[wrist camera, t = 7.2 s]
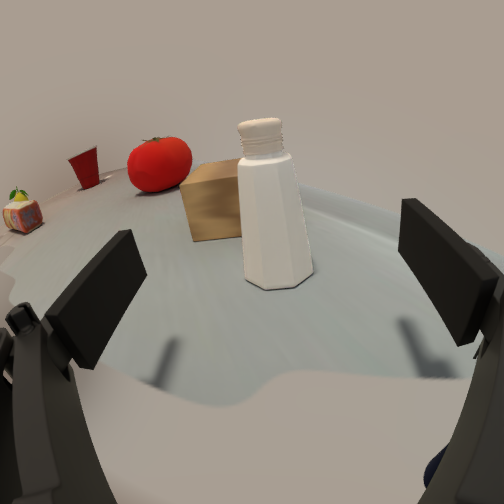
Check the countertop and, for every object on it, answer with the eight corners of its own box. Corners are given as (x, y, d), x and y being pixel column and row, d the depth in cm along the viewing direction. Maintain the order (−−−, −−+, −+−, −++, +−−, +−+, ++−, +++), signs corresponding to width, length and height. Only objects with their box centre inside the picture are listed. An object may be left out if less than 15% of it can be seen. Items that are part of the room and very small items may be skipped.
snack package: (47, 222, 50) (37, 194, 47) (23, 236, 45) (13, 207, 42) (25, 220, 61) (18, 198, 57) (7, 231, 56) (-1, 208, 52)
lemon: (15, 218, 69) (6, 190, 64) (29, 210, 73) (20, 183, 68) (20, 218, 66) (10, 189, 61) (34, 210, 70) (25, 181, 65)
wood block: (280, 200, 35) (274, 153, 32) (283, 232, 27) (275, 170, 25) (210, 209, 36) (201, 164, 34) (193, 241, 29) (178, 185, 26)
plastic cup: (78, 188, 81) (69, 155, 75) (107, 178, 84) (98, 144, 78) (72, 195, 72) (62, 158, 66) (104, 183, 75) (94, 145, 69)
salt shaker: (322, 255, 23) (311, 113, 17) (302, 296, 19) (285, 119, 13) (261, 248, 25) (240, 120, 20) (231, 285, 21) (198, 130, 16)
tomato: (135, 190, 56) (123, 144, 51) (193, 174, 59) (183, 127, 54) (132, 204, 46) (117, 147, 41) (201, 184, 49) (190, 127, 44)
